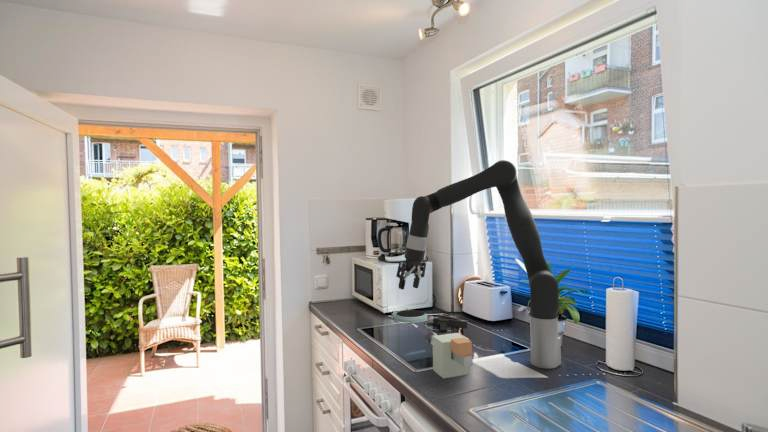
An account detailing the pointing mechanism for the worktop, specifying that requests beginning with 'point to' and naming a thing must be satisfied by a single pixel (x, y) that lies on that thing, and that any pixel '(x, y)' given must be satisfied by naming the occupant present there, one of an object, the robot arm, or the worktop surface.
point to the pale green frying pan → (410, 316)
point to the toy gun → (447, 322)
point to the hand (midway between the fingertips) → (408, 288)
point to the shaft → (463, 360)
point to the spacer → (461, 346)
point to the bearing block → (446, 357)
